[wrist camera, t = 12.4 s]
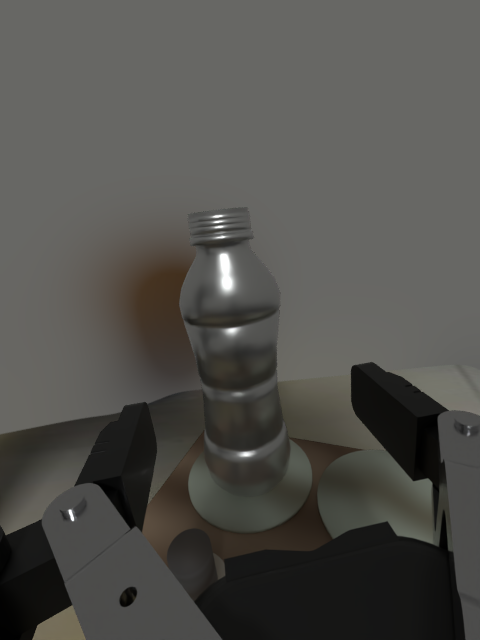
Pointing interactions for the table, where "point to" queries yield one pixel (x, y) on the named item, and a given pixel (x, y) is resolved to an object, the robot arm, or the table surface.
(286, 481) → the board
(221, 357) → the plastic bottle
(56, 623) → the table surface
